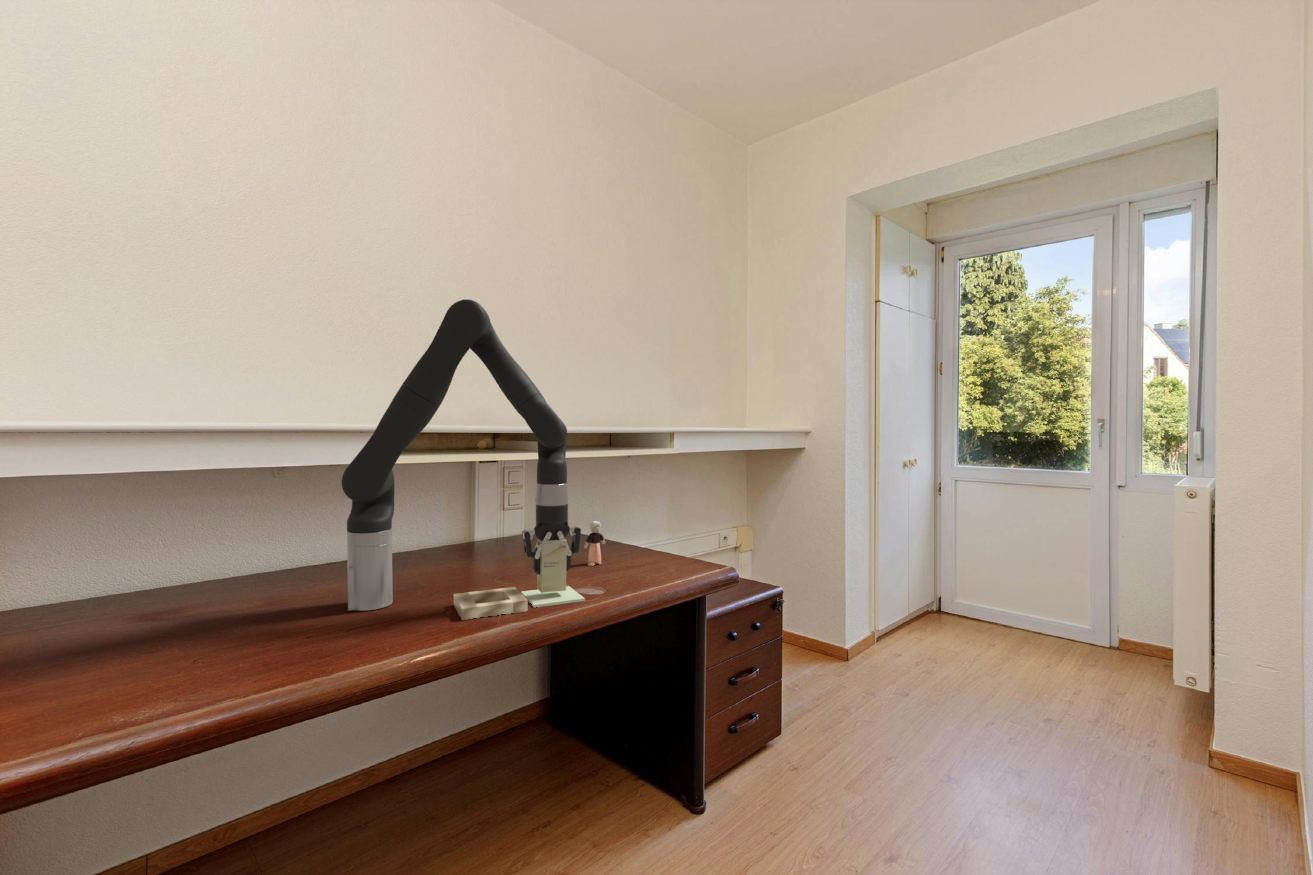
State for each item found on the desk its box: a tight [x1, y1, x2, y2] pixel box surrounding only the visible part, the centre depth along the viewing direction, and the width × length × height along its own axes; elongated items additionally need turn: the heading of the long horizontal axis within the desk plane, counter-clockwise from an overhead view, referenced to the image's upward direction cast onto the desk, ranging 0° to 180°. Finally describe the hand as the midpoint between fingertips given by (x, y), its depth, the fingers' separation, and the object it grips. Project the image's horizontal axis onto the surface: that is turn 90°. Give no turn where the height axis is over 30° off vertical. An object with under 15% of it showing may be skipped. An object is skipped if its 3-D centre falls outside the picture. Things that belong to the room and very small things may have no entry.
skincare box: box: [536, 538, 568, 593], centre depth 148 cm, size 6×4×12 cm
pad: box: [520, 585, 586, 609], centre depth 148 cm, size 12×12×1 cm
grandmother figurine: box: [583, 520, 606, 567], centre depth 181 cm, size 8×4×13 cm, turn 148°
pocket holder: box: [453, 586, 529, 621], centre depth 140 cm, size 14×12×2 cm
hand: (551, 572), depth 148 cm, fingers closed on skincare box, 6 cm apart
